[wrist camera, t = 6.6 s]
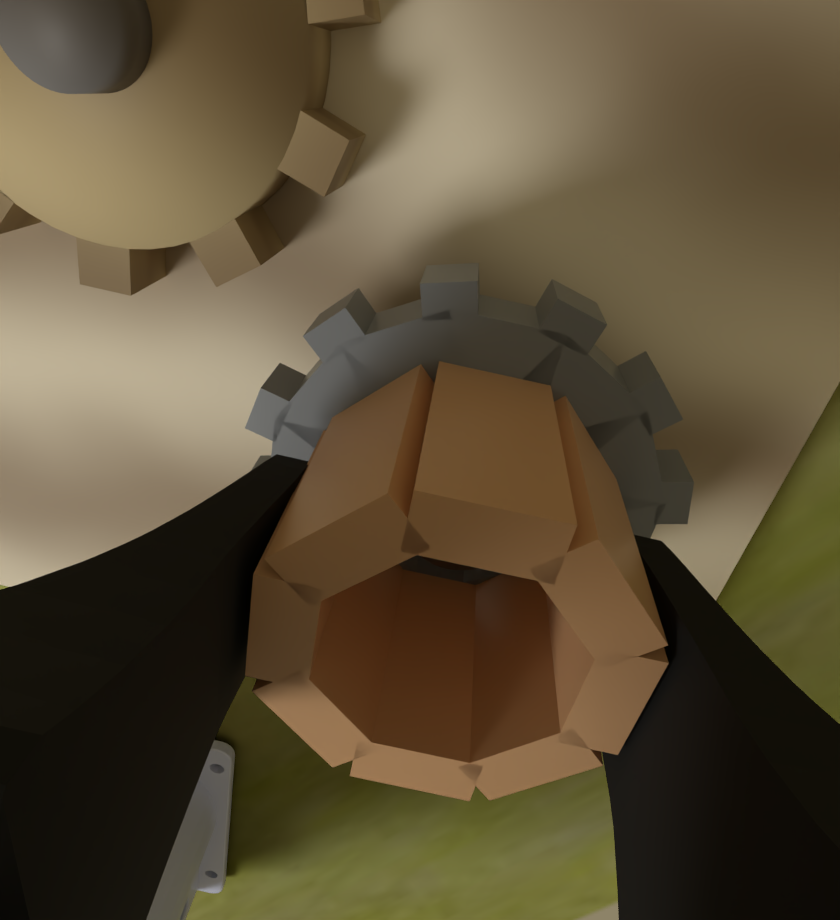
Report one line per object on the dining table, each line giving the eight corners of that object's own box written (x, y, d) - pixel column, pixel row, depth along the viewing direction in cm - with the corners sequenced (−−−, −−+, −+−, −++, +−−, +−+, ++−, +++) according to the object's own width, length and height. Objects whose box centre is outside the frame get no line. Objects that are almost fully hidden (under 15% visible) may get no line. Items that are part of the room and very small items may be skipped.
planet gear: (594, 655, 15) (636, 889, 11) (250, 582, 15) (150, 788, 11) (749, 322, 11) (919, 481, 7) (278, 218, 11) (133, 309, 7)
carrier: (636, 701, 20) (668, 852, 16) (-11, 555, 20) (-137, 669, 16) (1119, -191, 10) (1534, -380, 6) (-204, -485, 10) (-678, -866, 6)
